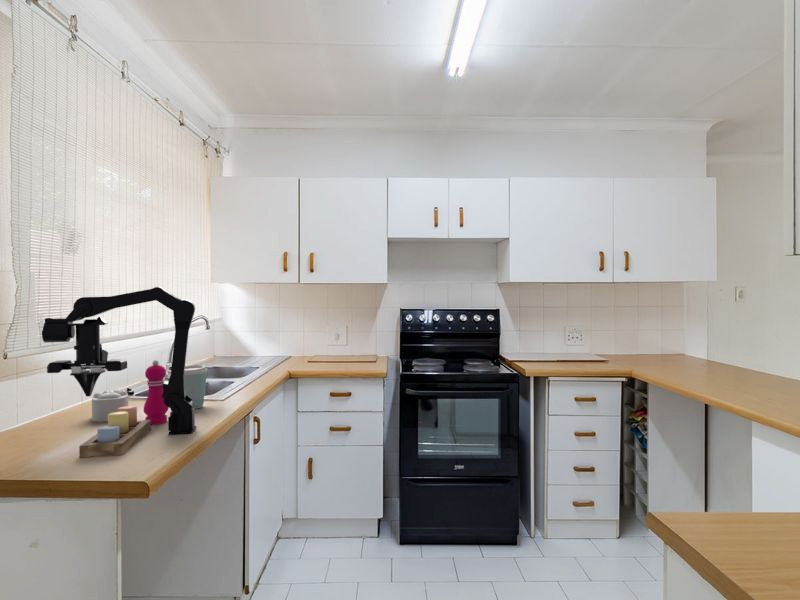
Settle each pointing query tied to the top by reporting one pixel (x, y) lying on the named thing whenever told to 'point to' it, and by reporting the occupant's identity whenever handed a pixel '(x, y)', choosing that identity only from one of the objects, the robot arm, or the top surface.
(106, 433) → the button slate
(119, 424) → the button ochre
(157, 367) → the pepper mill
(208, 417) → the top surface
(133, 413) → the salmon rounded lump
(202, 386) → the disposable coffee cup
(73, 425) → the top surface
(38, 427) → the top surface
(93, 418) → the lumpy-topped squat cylinder
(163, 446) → the top surface
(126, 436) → the wooden compartment tray
